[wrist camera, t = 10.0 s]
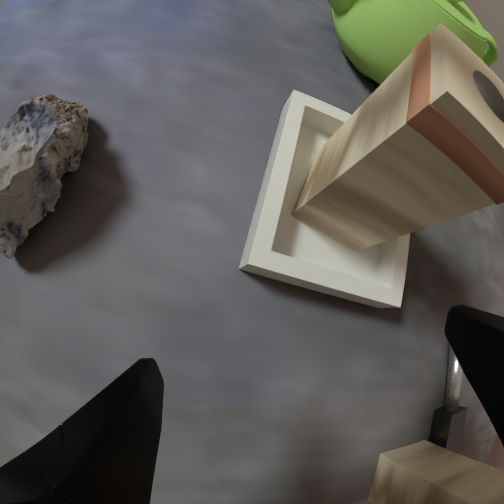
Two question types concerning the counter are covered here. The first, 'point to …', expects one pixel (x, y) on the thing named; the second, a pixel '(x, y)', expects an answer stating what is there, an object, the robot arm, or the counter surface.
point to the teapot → (402, 31)
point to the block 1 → (412, 149)
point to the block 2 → (434, 478)
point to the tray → (304, 235)
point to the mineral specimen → (37, 162)
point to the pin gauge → (450, 410)
